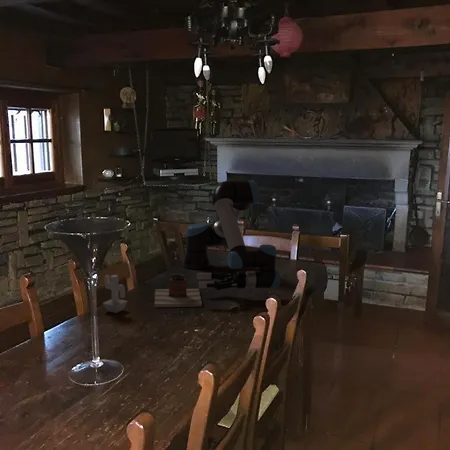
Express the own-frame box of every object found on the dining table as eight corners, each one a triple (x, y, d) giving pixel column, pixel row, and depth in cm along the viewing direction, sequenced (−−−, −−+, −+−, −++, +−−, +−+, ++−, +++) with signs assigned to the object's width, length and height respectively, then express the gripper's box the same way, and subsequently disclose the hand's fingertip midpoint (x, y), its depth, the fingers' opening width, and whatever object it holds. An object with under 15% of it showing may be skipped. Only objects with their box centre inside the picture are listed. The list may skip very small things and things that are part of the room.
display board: (155, 292, 232) (155, 289, 231) (198, 291, 234) (198, 288, 234) (154, 307, 212) (154, 303, 212) (201, 306, 215) (201, 303, 214)
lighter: (187, 294, 224) (187, 273, 223) (186, 297, 221) (186, 275, 219) (169, 294, 225) (169, 272, 223) (168, 296, 221) (168, 274, 220)
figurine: (118, 315, 202) (118, 279, 199) (100, 311, 206) (99, 275, 203) (129, 309, 208) (129, 275, 206) (111, 306, 212) (111, 271, 210)
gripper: (249, 296, 214) (199, 297, 211) (240, 279, 238) (196, 280, 236) (250, 279, 212) (199, 280, 210) (241, 264, 237) (196, 264, 234)
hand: (197, 280), depth 223 cm, fingers open, 13 cm apart
